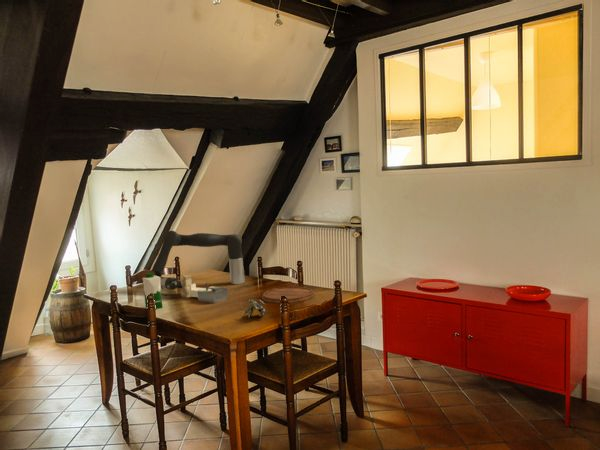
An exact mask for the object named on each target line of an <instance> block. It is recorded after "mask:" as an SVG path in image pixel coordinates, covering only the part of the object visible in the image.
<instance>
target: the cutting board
mask: <svg viewBox="0 0 600 450" xmlns="http://www.w3.org/2000/svg"><path fill="white" fill-rule="evenodd" d="M281 296H285V297H286V298H287V300H288V302H289V303H288V304H297V303H301V302H306V301H309V300H311V299H313V298H314V297H316V293H315V291H313V289H311V288H309V287H304V286H285V287H275V288H272V289H268V290H266V291H264V292H263V294H262V295H261V299H260V300H261V301H263V302H266V303H271V304H279V302H280V297H281Z"/></svg>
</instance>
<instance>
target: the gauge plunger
mask: <svg viewBox="0 0 600 450" xmlns="http://www.w3.org/2000/svg"><path fill="white" fill-rule="evenodd" d="M198 290H204V291H212V289H209V284H208V282H207V283H205V287H197V284H196V283H192V284H191V285H190V297H193V298H198Z"/></svg>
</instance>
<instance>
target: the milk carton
mask: <svg viewBox="0 0 600 450" xmlns="http://www.w3.org/2000/svg"><path fill="white" fill-rule="evenodd" d="M153 275H154V272H148V273H147V272H146V273H145V277H142V282H143V293H144V303H145V308H146V307H147V296H148V295H149V294H153V295H154V300H155V305H156V309H155V310H158V309H163V308H162V307H163V298H162V288H161V285H160V279H161V277H159V276H153ZM157 308H158V309H157Z"/></svg>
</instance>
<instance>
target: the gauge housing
mask: <svg viewBox="0 0 600 450" xmlns="http://www.w3.org/2000/svg"><path fill="white" fill-rule="evenodd" d="M208 289H212V291H204V290H198V297H197V301H198V302H201V303H210V304H217V303H219V302H222V301H224V300H227V299H229V291H228V289H229V288H228V287H224V286H222V287H220V286H213V285H211V286H208Z"/></svg>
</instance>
